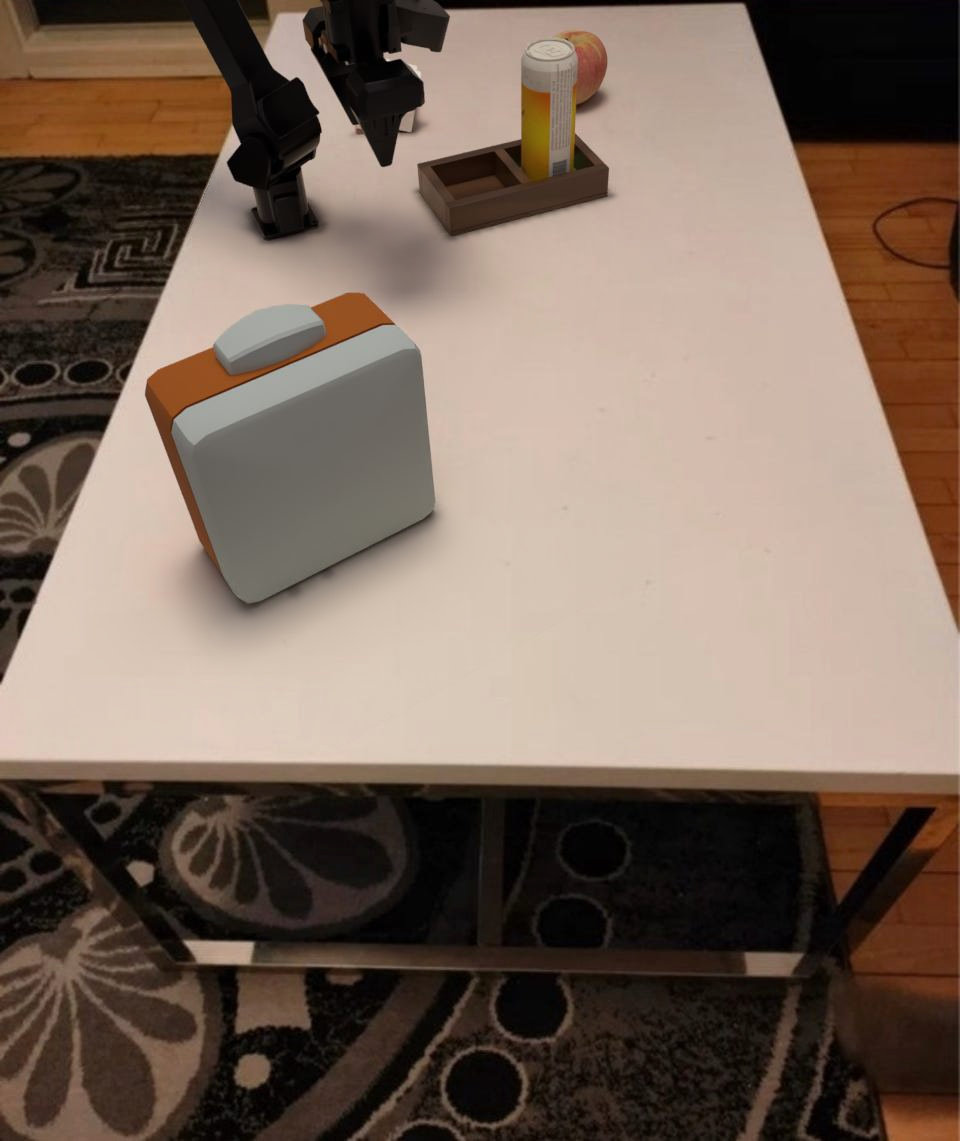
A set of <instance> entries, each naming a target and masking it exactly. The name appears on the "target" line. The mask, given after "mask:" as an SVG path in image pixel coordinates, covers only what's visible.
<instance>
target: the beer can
mask: <svg viewBox="0 0 960 1141" xmlns="http://www.w3.org/2000/svg"><path fill="white" fill-rule="evenodd" d="M552 37H553V36H551V37H549V36H548V37H541V38H536V39H533V40H531V41H530V42H528V43H527V44H526V45H525V47H524V52H523V54H522V56H521V59H520V65H521V66H520V68H521V69H520V77H521V78H520V81H521V82H520V106H521V107H520V125H521V126H520V139H521V170H522V171H523V172H524V173H525V174H526V176H527V177H528V178H529V179H530V180H531V182H532V181H536V180H540V179H544V178H548V177H552V176H556V175H560V174H564V173H568V172H572V171H573V166H574V142H575V133H576V117H577V105H576V94H577V70H578V57H577V54H576V52H575V47H574V45H573V44H572V43H571V42H569V41H567V40H565V39H561V38H552Z"/></svg>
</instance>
